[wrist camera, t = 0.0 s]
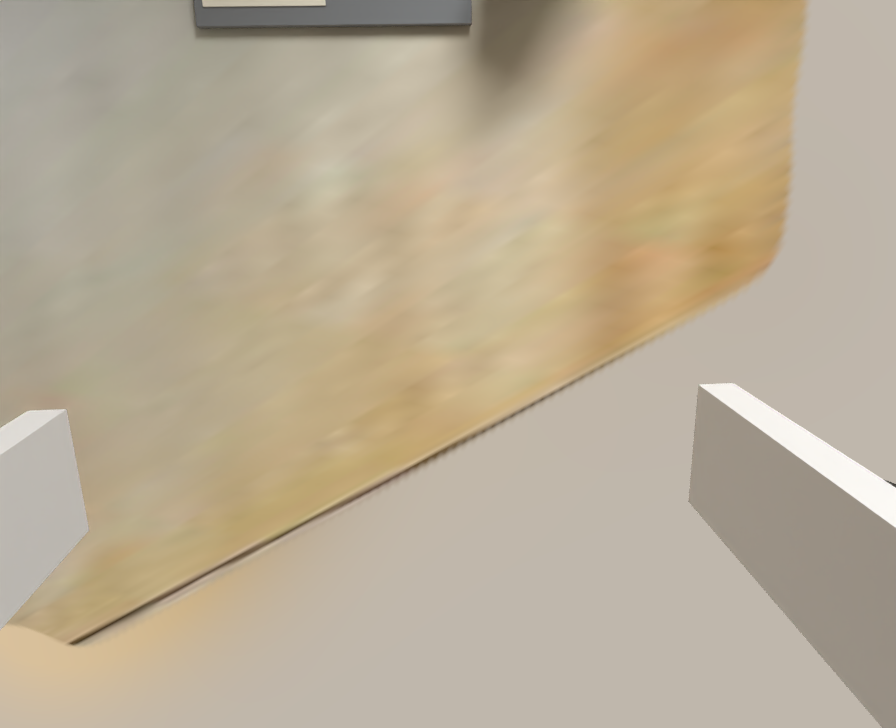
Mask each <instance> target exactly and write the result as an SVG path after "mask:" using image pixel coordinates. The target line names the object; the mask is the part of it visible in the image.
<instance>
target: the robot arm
mask: <svg viewBox="0 0 896 728" xmlns="http://www.w3.org/2000/svg"><path fill="white" fill-rule="evenodd" d="M689 503H690V504H691V505H692V506H693V507H694V509H695V510H696V511H697V512H698V513H699V514H700V516H701V517H702V518H703V519H704V520H705V521H706V523H707V524H708V525H709V526H710V527H711V528H712V530H713V531H714V532H715V533H716V534H717V535H718V537H719V538H720V539H721V540H722V541H723V542H724V544H725V545H726V546H727V547H728V548H729V549H730V551H731V552H732V553H733V554H734V555H735V556H736V558H737V559H738V560H739V561H740V562H741V563H742V565H744V567H745V568H746V569H747V570H748V572H749V573H750V574H751V575H752V576H753V577H754V578H755V580H756V581H757V582H758V583H759V584H760V586H761V587H762V588H763V589H764V590H765V591H766V593H767V594H768V595H769V596H770V597H771V598H772V600H773V601H774V602H775V603H776V604H777V605H778V607H779V608H780V609H781V610H782V611H783V612H784V613H785V615H786V616H787V617H788V618H789V619H790V621H791V622H792V623H793V624H794V625H795V626H796V628H797V629H798V630H799V631H800V632H801V633H802V635H803V636H804V637H805V638H806V639H807V640H808V642H809V643H810V644H811V645H812V646H813V647H814V649H815V650H816V651H817V652H818V653H819V654H820V655H821V657H822V658H823V659H824V660H825V661H826V663H827V664H828V665H829V666H830V667H831V668H832V670H833V671H834V672H835V673H836V674H837V675H838V677H839V678H840V679H841V680H842V681H843V682H844V684H845V685H846V686H847V687H848V688H849V689H850V691H851V692H852V693H853V694H854V695H855V696H856V698H857V699H858V700H859V701H860V702H861V703H862V705H863V706H864V707H865V708H866V709H867V710H868V712H869V713H870V714H871V715H872V716H873V717H874V718H875V720H876V721H877V722H878V723H879V724H880V726H881V727H882V728H896V484H894V483H891V482H889V481H886V480H884V479H881V478H880V477H878V476H877V475H875V474H874V473H872V472H871V471H869V470H867V469H866V468H864V467H863V466H861V465H860V464H858V463H857V462H855V461H853V460H852V459H850V458H849V457H847V456H846V455H844V454H843V453H841V452H840V451H838V450H836V449H835V448H833V447H832V446H830V445H829V444H827V443H826V442H824V441H822V440H821V439H819V438H818V437H816V436H815V435H813V434H812V433H810V432H808V431H807V430H805V429H804V428H802V427H801V426H799V425H797V424H796V423H794V422H793V421H791V420H790V419H788V418H787V417H785V416H783V415H782V414H780V413H779V412H777V411H776V410H774V409H773V408H771V407H769V406H768V405H766V404H765V403H763V402H762V401H760V400H759V399H757V398H755V397H754V396H752V395H751V394H749V393H748V392H746V391H745V390H743V389H741V388H740V387H739V386H737V385H735V384H734V383H728V384H727V383H726V384H701V385H698V395H697V407H696V419H695V431H694V444H693V455H692V467H691V478H690V490H689ZM88 531H89V527H88V521H87V516H86V511H85V505H84V500H83V494H82V489H81V484H80V478H79V473H78V468H77V462H76V457H75V451H74V446H73V441H72V435H71V430H70V425H69V419H68V414H67V409H57V410H31V411H26V412H25V413H23V414H22V415H20V416H19V417H17V418H15V419H14V420H12V421H11V422H9V423H7V424H6V425H4V426H3V427H1V428H0V630H1V629H2V628H3V627H4V626H5V624H6V623H7V622H8V621H9V620H10V619H11V618H12V617H13V615H14V614H15V613H16V612H17V611H18V610H19V609H20V608H21V606H22V605H23V604H24V603H25V602H26V601H27V600H28V599H29V597H30V596H31V595H32V594H33V593H34V592H35V591H36V590H37V588H38V587H39V586H40V585H41V584H42V583H43V582H44V581H45V579H46V578H47V577H48V576H49V575H50V574H51V573H52V572H53V570H54V569H55V568H56V567H57V566H58V565H59V564H60V563H61V561H62V560H63V559H64V558H65V557H66V556H67V555H68V554H69V552H70V551H71V550H72V549H73V548H74V547H75V546H76V545H77V543H78V542H79V541H80V540H81V539H82V538H83V537H84V536H85V534H86V533H87V532H88Z"/></svg>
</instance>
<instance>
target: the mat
mask: <svg viewBox="0 0 896 728" xmlns="http://www.w3.org/2000/svg"><path fill="white" fill-rule="evenodd" d="M194 7H195V16H196V25H197V27H199V28H265V27H355V26H444V25H471V24H472V6H471V0H194Z"/></svg>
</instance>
